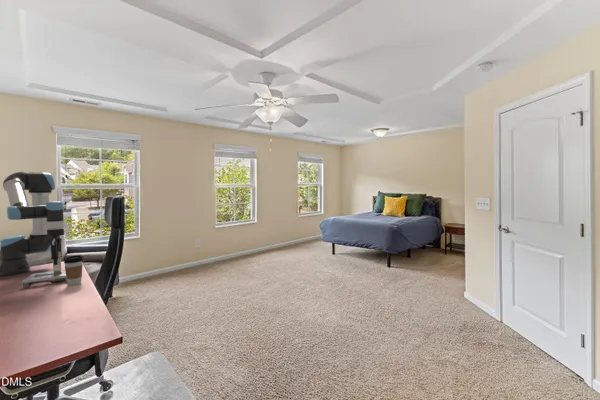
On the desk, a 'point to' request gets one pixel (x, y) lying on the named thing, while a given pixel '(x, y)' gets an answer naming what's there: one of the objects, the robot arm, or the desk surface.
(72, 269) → the coffee cup
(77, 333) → the desk surface
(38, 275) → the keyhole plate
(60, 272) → the beech peg
